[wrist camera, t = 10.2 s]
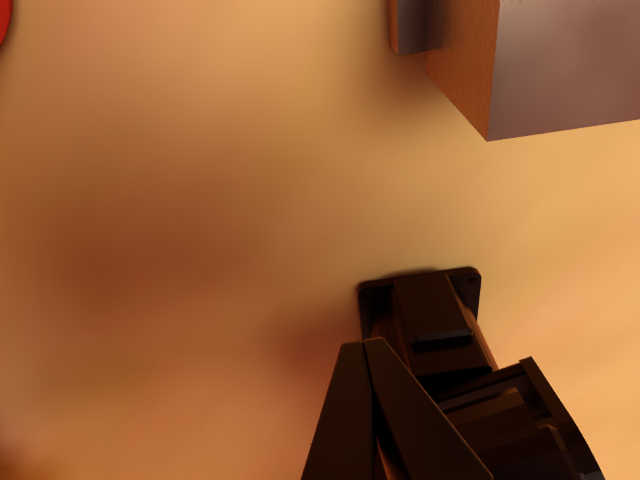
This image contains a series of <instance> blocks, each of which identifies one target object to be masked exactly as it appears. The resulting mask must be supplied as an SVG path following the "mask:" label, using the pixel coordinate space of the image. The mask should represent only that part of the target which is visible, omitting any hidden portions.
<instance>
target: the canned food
mask: <svg viewBox="0 0 640 480" xmlns="http://www.w3.org/2000/svg"><path fill="white" fill-rule="evenodd" d="M12 10H13V0H0V45H1V43H2V41H3V39H4V37H5V35H6V32H7V30H8V28H9V23H10V19H11V14H12Z"/></svg>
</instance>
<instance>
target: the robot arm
mask: <svg viewBox="0 0 640 480" xmlns="http://www.w3.org/2000/svg"><path fill="white" fill-rule="evenodd" d="M471 276H473V277H472V278H470V279H468V278H469V277H471ZM480 288H481V275H480V273H479V271H478V270H477V269H475V268H465V269H458V270H451V271H444V272H437V273H430V274H423V275H416V276H409V277H401V278H394V279H387V280H380V281H373V282H366V283H362V284H361V285H359V286H358V288H357V297H358V306H359V316H360V325H361V334H362V341H360V340H355V341H348V342H343V343H342V345H341V347H340V350H339V354H338V357H337V360H336V364H335V367H334V370H333V374H332V377H331V380H330V384H329V387H328V390H327V394H326V397H325V400H324V404H323V407H322V410H321V413H320V417H319V420H318V423H317V427H316V430H315V433H314V437H313V440H312V443H311V447H310V450H309V453H308V457H307V460H306V463H305V467H304V470H303V473H302V477H301V480H605V478H604V476H603V474H602V472H601V469H600V467H599V465H598V464H597V462H596V460H595V458H594V456H593V454H592V452H591V450H590V448H589V446H588V444H587V443H586V441H585V439H584V437H583V436H582V434H581V432H580V430H579V429H578V427H577V425H576V424H575V422H574V421H573V419H572V417H571V416H570V414H569V413H568V411H567V410H566V408H565V407H564V405H563V404H562V402H561V401H560V399H559V398H558V396H557V395H556V393H555V392H554V390H553V389H552V387H551V386H550V384H549V382H548V381H547V379H546V378H545V376H544V375H543V373H542V372H541V370H540V369H539V367H538V366H537V364H536V363H535V361H534V360H533V358H532V357H531V356H530V357H527V358H524V359H522V360H519V363H516V364H513V365H510V366H507V367H505V368H502V369H499V368H498V366H497V364H496V362H495V359H494V357H493V355H492V353H491V351H490V349H489V347H488V345H487V343H486V341H485V338H484V336H483V334H482V332H481V330H480V328H479V326H478V324H477V315H478V306H479V297H480ZM366 291H370V292H369V293H364V292H366Z"/></svg>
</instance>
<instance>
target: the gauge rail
mask: <svg viewBox="0 0 640 480" xmlns="http://www.w3.org/2000/svg"><path fill="white" fill-rule="evenodd" d="M389 26H390V46H391V47H392V48H393V49H394V51H395V52H396V53H397V54H398V55H404V54H410V53H417V52H424V51H427V59H426V74H427V75H428V77H429V78H430V79H431V80H432V81H433V82H434V83H435V84H436V85H437V87H438V88H439V89H440V90H441V91H442V92H443V93H444V94H445V96H446V97H447V98H448V99H449V100H450V101H451V102H452V103H453V104H454V106H455V107H456V108H457V109H458V110H459V111H460V112H461V113H462V114H463V116H464V117H465V118H466V119H467V120H468V121H469V122H470V123H471V125H472V126H473V127H474V128H475V129H476V130H477V131H478V132H479V133H480V135H481V136H482V137H483V138H484V139H485V140H486V141H487V142H488V141H494V140H501V139H508V138H515V137H522V136H529V135H535V134H542V133H549V132H556V131H563V130H570V129H576V128H583V127H590V126H597V125H604V124H611V123H617V122H624V121H631V120H638V119H640V0H389Z"/></svg>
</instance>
